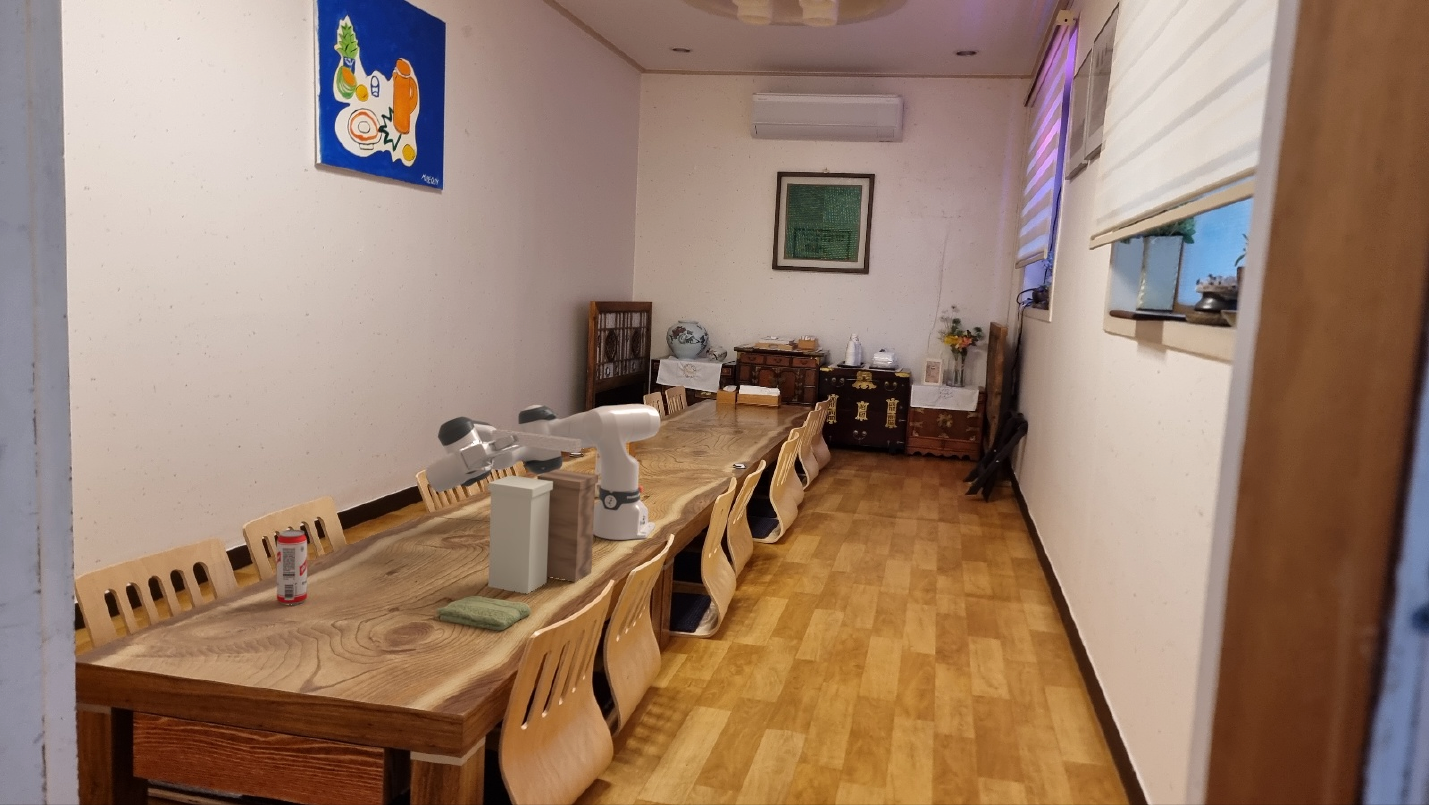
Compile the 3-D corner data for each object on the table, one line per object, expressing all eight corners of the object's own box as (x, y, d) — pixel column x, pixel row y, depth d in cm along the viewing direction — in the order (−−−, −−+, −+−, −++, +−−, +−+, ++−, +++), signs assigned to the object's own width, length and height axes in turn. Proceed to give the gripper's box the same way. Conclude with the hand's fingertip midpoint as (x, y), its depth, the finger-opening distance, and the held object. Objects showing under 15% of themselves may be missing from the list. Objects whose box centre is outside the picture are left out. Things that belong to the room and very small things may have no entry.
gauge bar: (498, 440, 250) (498, 429, 249) (580, 451, 242) (581, 439, 242) (492, 442, 247) (492, 430, 246) (575, 453, 239) (575, 441, 239)
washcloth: (467, 603, 223) (467, 589, 223) (533, 616, 217) (533, 602, 217) (432, 621, 211) (432, 607, 210) (501, 635, 205) (502, 621, 205)
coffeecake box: (613, 498, 329) (616, 443, 326) (592, 497, 329) (595, 441, 326) (618, 489, 344) (621, 435, 341) (599, 487, 344) (601, 434, 341)
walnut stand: (552, 565, 253) (556, 469, 249) (593, 572, 249) (598, 474, 246) (533, 575, 244) (537, 476, 240) (576, 583, 240) (580, 482, 236)
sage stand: (507, 575, 243) (510, 475, 239) (549, 583, 239) (552, 481, 235) (485, 587, 233) (488, 482, 230) (528, 595, 229) (532, 489, 226)
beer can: (274, 606, 212) (274, 537, 210) (279, 597, 218) (279, 529, 216) (304, 605, 214) (304, 536, 212) (308, 596, 220) (308, 528, 218)
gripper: (503, 461, 260) (543, 441, 256) (460, 475, 241) (502, 454, 236) (493, 440, 261) (533, 420, 256) (449, 452, 241) (491, 431, 237)
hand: (518, 436), depth 246 cm, fingers closed on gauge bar, 3 cm apart
